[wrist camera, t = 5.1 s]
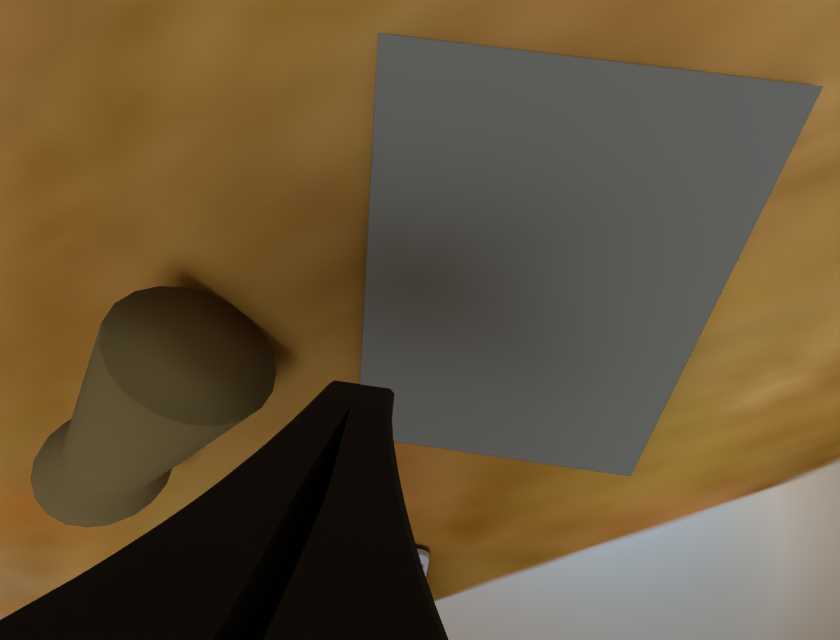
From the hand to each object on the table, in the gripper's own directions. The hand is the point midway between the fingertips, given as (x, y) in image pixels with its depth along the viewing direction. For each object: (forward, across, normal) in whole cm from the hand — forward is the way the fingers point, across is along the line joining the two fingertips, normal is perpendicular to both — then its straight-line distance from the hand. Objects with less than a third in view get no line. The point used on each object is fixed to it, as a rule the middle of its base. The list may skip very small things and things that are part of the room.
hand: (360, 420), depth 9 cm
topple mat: (+8, -5, 0) cm, 10 cm away
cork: (+5, +7, +2) cm, 9 cm away
